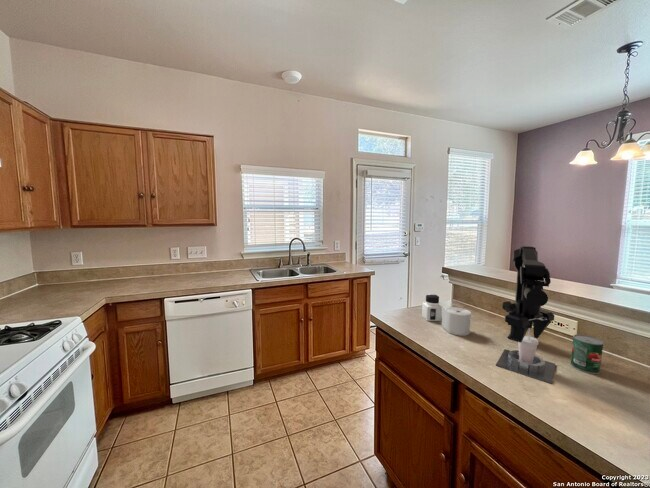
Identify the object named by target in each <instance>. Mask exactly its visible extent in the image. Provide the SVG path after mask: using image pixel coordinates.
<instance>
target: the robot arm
mask: <svg viewBox="0 0 650 488" xmlns="http://www.w3.org/2000/svg"><path fill="white" fill-rule="evenodd" d="M536 249H537V248H536V247H535V246H528V245H527V246H525V245H523V246H520V247H519V248H517V249H515V250H513V252H512V255H511V256H512V262H513V266H514V268H515V270H516V272H517V273H516V282H515V283H516V284H515V286H516V287H515V299H514V300H515V301H514V302H511V301H508V300H507V301H503V302H502V307H501V308H502V309H503V310H504V311H505V312H506V313H507V314H506V315H504V322H505V323H507V326H510V333H509V335H508V336H507V339H510V340H514V341H517V342H520V343H521V342H522V340H523V339H524V336H527V335H526V334H527V332H528V329H529V328H530V330H531V328H533V338H535V339H539V338H540V336H541V335H542V334H543V332H544V331H545V330H546V328H547V327H548V326H549V325H550V324H551V323H552V322H553V321H555V314H554V313H553V312H551V311H548V310H545V309H542V307H544V306H545V305H546V304H547V303H548V301H549V296H548V295H547V293H546V292H545V290H544V287H548V288H549V287H550V284H551V274H550V271H549V269H548V268H546V265H545V264H544V263H543V262H541V261H539V259H538V258H539V257H538V254H539V253H538V251H537V250H536Z"/></svg>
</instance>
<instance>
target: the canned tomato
mask: <svg viewBox="0 0 650 488" xmlns="http://www.w3.org/2000/svg"><path fill="white" fill-rule="evenodd" d="M603 348H604V341H602V340H601V339H599V338H597V337H594V336H590V335H587V334H586V335H585V334H574V335H573V336H572V345H571V354H570V363H569V364H570V365H571V367H573V368H574V369H576V370H578V371H580V372H583V373H586V374H591V375H592V374H594V375H598V374H600V373H601V367H602V357H603Z"/></svg>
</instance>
